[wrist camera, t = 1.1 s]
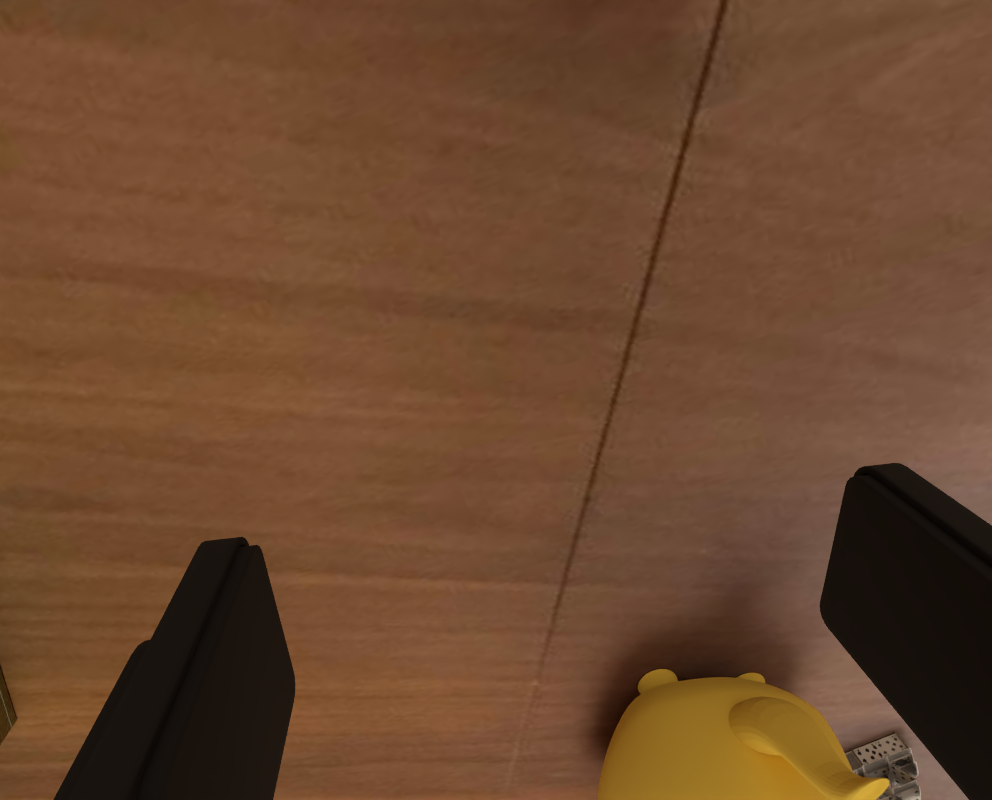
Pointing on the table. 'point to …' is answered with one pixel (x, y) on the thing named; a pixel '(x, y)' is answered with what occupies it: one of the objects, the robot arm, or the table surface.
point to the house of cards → (888, 766)
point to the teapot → (726, 745)
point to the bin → (5, 710)
